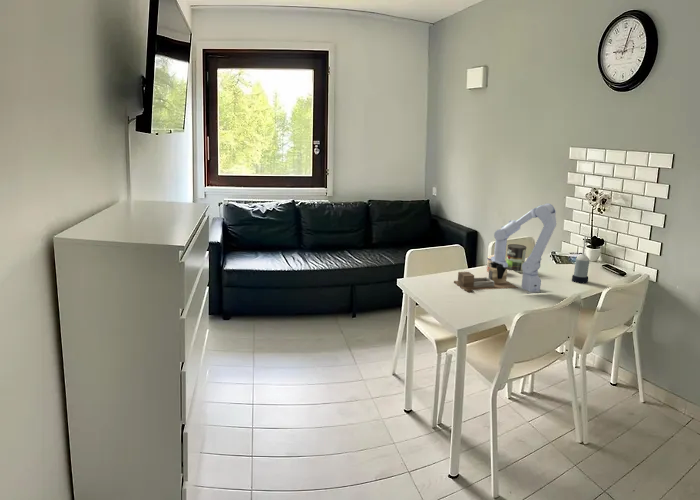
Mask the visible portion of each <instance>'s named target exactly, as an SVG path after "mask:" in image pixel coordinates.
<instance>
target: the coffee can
mask: <svg viewBox="0 0 700 500" xmlns="http://www.w3.org/2000/svg"><path fill="white" fill-rule="evenodd" d="M526 250H527V246H526V245H523V244H517V243H516V244H514V243H510V244H507V249H506V258H505V261H506V262H507V263H508V267H507V270H509V271H513V272H515V273H523V270H522V264H523V263H524V262H525V261H526V252H527V251H526Z"/></svg>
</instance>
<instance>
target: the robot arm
mask: <svg viewBox="0 0 700 500" xmlns="http://www.w3.org/2000/svg"><path fill="white" fill-rule="evenodd" d="M556 213H557V210H556V208H555V207H554V205H553V204H551V203H544V204H541V205H537V207H534V208H531V209H530V210H529V211H528V212H526V213H525V214H524V215H522V216H521V217H519V218H518V219H517V220H516V219H512V220H511V219H510V220H508V223H507V224H504V225H502V226H501V227H500V228H498V229H496V230H495V232H494V233H493V237H494V239H495V241H494V242H495V243H494V250H493V251H494V253H493V255H494V257H491V261H492V262H491V263H490V264H491V266H492V268H497V277H498V279H502V277H503V274H504V272H505V270H506V269H507V267H508V263H507V262H506V257H507V247H508V244H507V243H508V239H509V237H510V236H512V235H513V234H515V233H517V232H518V231H519V230H521V226H522V225H524V224H526V223H528V221H530V220H532V219H535V218H538V219H539V220H540V221H541V223H542V224H543V227H542V229H541V231H540V233H539V236H538V238H537V240H536V242H535V244H534V247H533V249H532V251H531V253H530V254H529V256H528V257H527V259H525V262H524V263H523V264H522V270H523V272H522V278H521V287H520V288H521V289H523V290H525V291H527V292H528V293H535V294H537V293H538V294H540V293H541V294H542V292H540V291H541V285H542V279H541V278H540V276H539V271H538V270H539V269H540V268H541V261H542V259H543V258H542V256H543V254H544V252H545V250H546V248H547V245H548V244H549V241H550V239H551V237H552V235H553V233H554V231H555V228H556V227H557V217H556Z"/></svg>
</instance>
